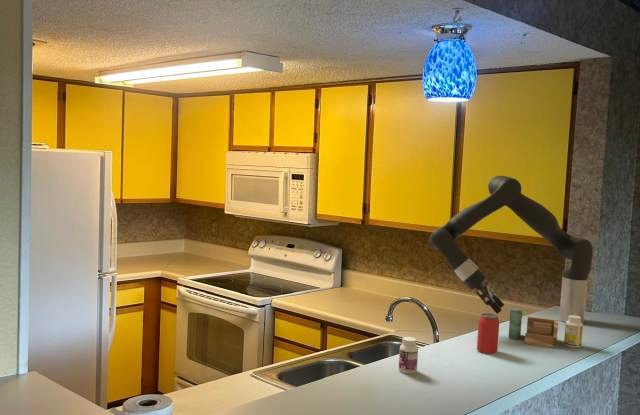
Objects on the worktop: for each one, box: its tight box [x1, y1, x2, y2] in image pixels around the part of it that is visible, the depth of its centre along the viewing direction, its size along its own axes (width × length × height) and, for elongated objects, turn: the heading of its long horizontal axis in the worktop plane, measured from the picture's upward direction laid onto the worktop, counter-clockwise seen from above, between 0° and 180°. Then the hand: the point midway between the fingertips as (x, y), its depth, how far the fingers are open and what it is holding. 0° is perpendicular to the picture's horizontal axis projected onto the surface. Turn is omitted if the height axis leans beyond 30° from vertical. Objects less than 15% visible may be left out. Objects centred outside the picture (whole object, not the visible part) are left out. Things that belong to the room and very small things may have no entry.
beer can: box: [476, 312, 500, 355], centre depth 206 cm, size 7×7×12 cm
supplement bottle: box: [563, 315, 584, 349], centre depth 216 cm, size 6×6×10 cm
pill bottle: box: [398, 336, 419, 375], centre depth 184 cm, size 5×5×10 cm
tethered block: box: [508, 308, 552, 341], centre depth 221 cm, size 6×14×10 cm, turn 69°
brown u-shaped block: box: [524, 316, 559, 349], centre depth 220 cm, size 11×10×7 cm
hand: (500, 309), depth 224 cm, fingers open, 8 cm apart
